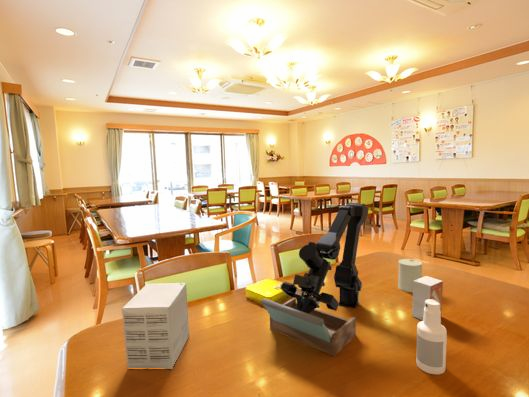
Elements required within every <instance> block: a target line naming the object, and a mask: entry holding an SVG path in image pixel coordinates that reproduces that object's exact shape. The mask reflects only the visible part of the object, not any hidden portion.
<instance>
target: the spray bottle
mask: <svg viewBox="0 0 529 397" xmlns="http://www.w3.org/2000/svg"><path fill="white" fill-rule="evenodd" d="M441 318H442V315H441V311H440V304H439V303H438V302H436V301H435V300H433V299H427V300H425V308H424V316H423V320H421V321H419V322H418V323H417V324H416V325H417V326H416V356H415V358H416V359H415V362H416V366H417V368H419V369H420V370H421V371H423V372H424V373H427V374H430V375H435V376H436V375H442V374H444V373H445V371H446V366H447V365H446V364H447V363H446V362H447V335H448V334H447V328H446V327H445V326H444V325H443V324H441V323H442V319H441Z"/></svg>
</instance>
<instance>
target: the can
mask: <svg viewBox="0 0 529 397" xmlns="http://www.w3.org/2000/svg"><path fill="white" fill-rule="evenodd" d="M422 269H423V262H422V261H420V260H417V259H413V258H401V259H399V260H398V283H397V284H398V285H397V288H398V289H399V290H401V291H403V292H405V293H411V294H413V281H414V280H417V279H419V278H422V277H423V276H422V274H423V270H422Z"/></svg>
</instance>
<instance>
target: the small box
mask: <svg viewBox="0 0 529 397" xmlns="http://www.w3.org/2000/svg"><path fill="white" fill-rule="evenodd" d="M443 288H444V280H441V279H437V278H434V277H431V276H428V275H425V276H422V278H419V279H417V280H414V281H413V293H412V310H411V313H412V314H411V315H412V317H414V318H416V319H418V320H421V321H423V316H424V308H425V300H427V299H433V300H435V301H436V302H438V303H439V304H440V311H441V316H442V309H443Z"/></svg>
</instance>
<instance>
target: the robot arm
mask: <svg viewBox="0 0 529 397" xmlns="http://www.w3.org/2000/svg"><path fill="white" fill-rule="evenodd" d="M368 215H369V207H368V206H366V203H357V202H356V203H355V202H349V203H347V204H346V205H339V207H338V208H337V214H336V215H335V217H334V220H333V221H332V223H331V225H330V228H329V229H328V230H327V233H326V234H324V235H323V236H321V237H320V238H319V240H318V241H317V242H314V241H309V242H308V244H306V245H303V246H302V247H301V248H300V249H299V252H298V257H299V259H301V261H302V262H303V264H305V265H306V267H307V268H308V272H305V273H304V274H303V275H301V274H297V273H296V274H294V276H293V283H291V282H288V281H284V282H283V283H282V285H281V287H280V289H281V290H282V291H283V292H284V293H286V294H287V295H288V296H291V297H290V298H296V303H297V310H299V311H302V312H305V313H308V314H309V313H310V312H312V311H313V310H314V309H319V308H320V303H322V304H325V305H326V308H327V309H329V310H331V311H332V310H333V311H335V312H336V311H338V309H339V308H338V307H339V306H344V307H349V308H356V307H357V305H358V304H359V301H360V292H361V291H362V287H363V286H362V285H363V283H362V281H361V280H360V278H359V270H358V269H357V266H356V260H357V258H356V257H357V253H358V245H359V238H360V231H361V227H362V226H363V225H364V223H366V220H367V217H368ZM345 231H346V234H345V241H344V246H343V254H342V259H341V262H340V263H339V264H337V265H335V272H334V276H333V280H334V284H335V287H336V288H339V301H338V300H337V299H336V298H335V296H334V295H333V294H330V293H326V292H321V290H322V288H324V287H325V285H326V283H325V280H326V277H327V275H328V272H329V271H332V270H333V269H332V265H331V261H328V260H332V261H333V260H336V259H338V256H339V255H340V250H341V244H340V241H341V239H342V237H343V235H344V232H345ZM296 285H297V286H296Z"/></svg>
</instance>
